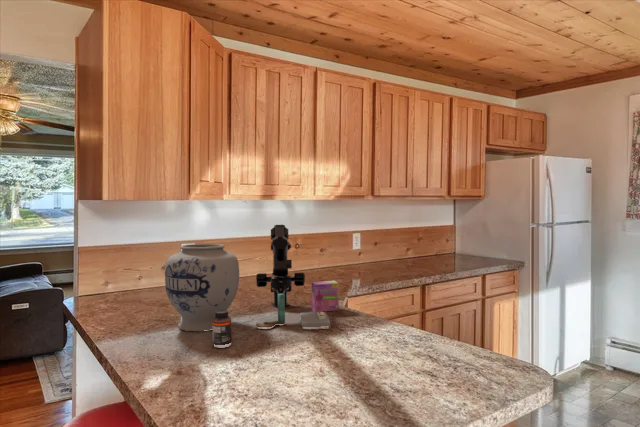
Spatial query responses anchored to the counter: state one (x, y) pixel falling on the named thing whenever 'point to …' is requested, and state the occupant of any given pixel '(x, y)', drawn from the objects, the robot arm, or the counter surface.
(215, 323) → the supplement bottle
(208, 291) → the apothecary jar
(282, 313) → the crank handle
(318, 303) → the box
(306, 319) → the stand
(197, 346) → the counter surface
